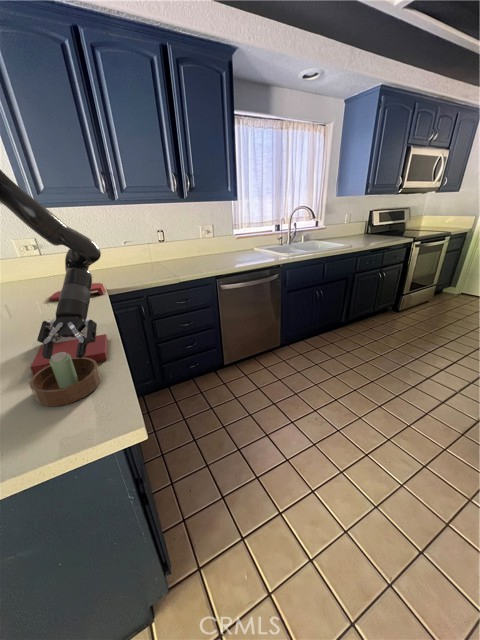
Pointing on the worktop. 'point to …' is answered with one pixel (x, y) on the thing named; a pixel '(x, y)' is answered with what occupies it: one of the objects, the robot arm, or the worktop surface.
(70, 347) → the book
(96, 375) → the bowl
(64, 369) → the pepper shaker
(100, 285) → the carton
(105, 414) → the worktop surface
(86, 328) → the lumpy-topped squat cylinder
